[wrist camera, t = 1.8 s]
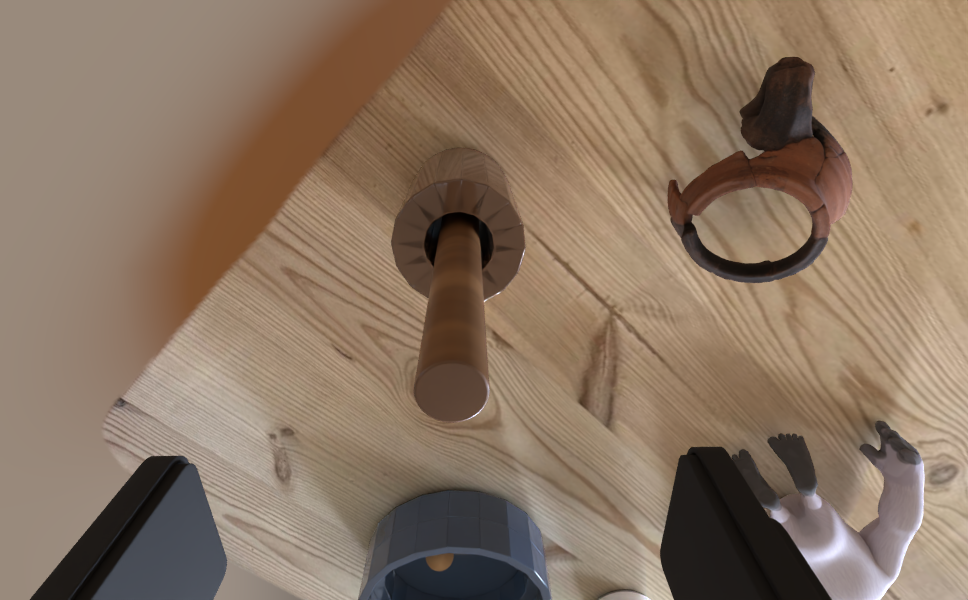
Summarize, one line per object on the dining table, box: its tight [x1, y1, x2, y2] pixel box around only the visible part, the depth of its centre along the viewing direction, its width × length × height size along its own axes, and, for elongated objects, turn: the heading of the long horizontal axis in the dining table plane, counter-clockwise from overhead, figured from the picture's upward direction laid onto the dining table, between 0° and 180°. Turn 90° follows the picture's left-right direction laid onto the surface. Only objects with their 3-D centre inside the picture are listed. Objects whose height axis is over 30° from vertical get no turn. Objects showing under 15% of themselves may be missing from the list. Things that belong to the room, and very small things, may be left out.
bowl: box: [358, 490, 553, 600], centre depth 43 cm, size 15×15×6 cm
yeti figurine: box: [732, 421, 924, 600], centre depth 42 cm, size 20×7×20 cm
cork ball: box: [426, 553, 454, 571], centre depth 43 cm, size 2×2×2 cm
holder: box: [391, 147, 526, 301], centre depth 28 cm, size 6×6×9 cm
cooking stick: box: [414, 212, 490, 422], centre depth 22 cm, size 2×2×20 cm
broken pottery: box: [668, 57, 852, 283], centre depth 29 cm, size 12×10×8 cm
